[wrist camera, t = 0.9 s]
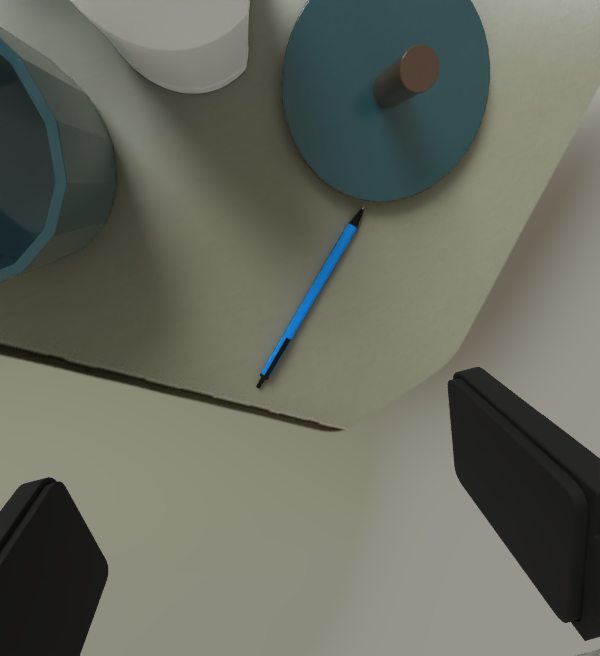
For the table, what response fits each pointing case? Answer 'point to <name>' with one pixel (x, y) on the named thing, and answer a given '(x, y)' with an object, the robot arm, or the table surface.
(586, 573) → the robot arm
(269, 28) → the table surface
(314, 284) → the pen
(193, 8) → the jar
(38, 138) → the pot
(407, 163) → the lid
